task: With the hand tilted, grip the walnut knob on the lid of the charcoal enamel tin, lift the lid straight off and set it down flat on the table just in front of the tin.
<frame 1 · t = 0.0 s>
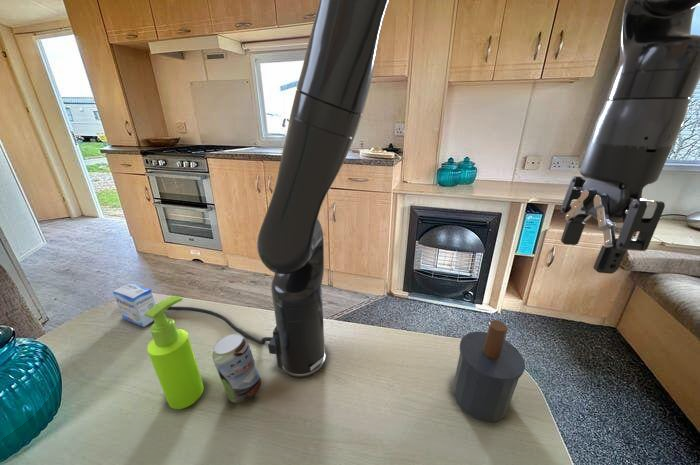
hand: (584, 256, 40), 29 cm above the table, tool pointing down, fingers open, 8 cm apart
medicine box: (142, 318, 71), on the table
beverage can: (242, 391, 53), on the table
tin: (478, 397, 51), on the table
lid: (490, 355, 47), point 10 cm above the table, touching tin
soap dispenser: (188, 392, 53), on the table
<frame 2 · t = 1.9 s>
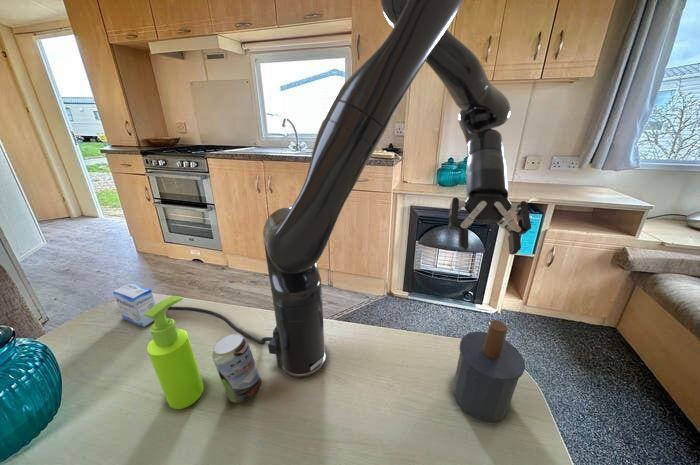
hand: (489, 251, 52), 25 cm above the table, tool tilted 45°, fingers open, 8 cm apart
nothing on the table moved.
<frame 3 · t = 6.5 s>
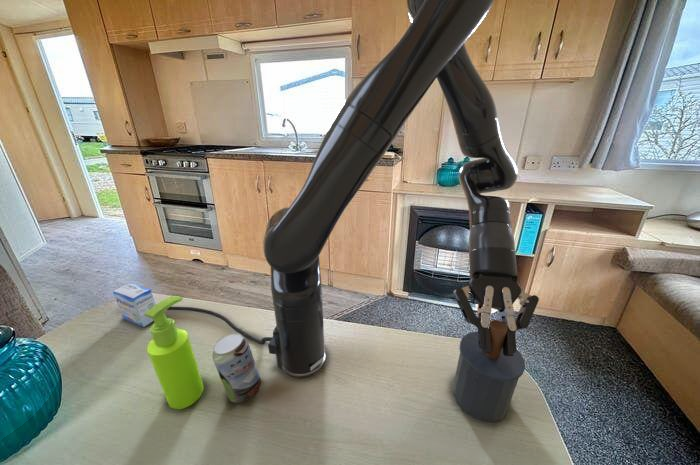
hand: (497, 354, 44), 13 cm above the table, tool tilted 45°, fingers closed on lid, 2 cm apart
lid: (490, 355, 47), point 11 cm above the table, touching gripper, tin
everything else where it was.
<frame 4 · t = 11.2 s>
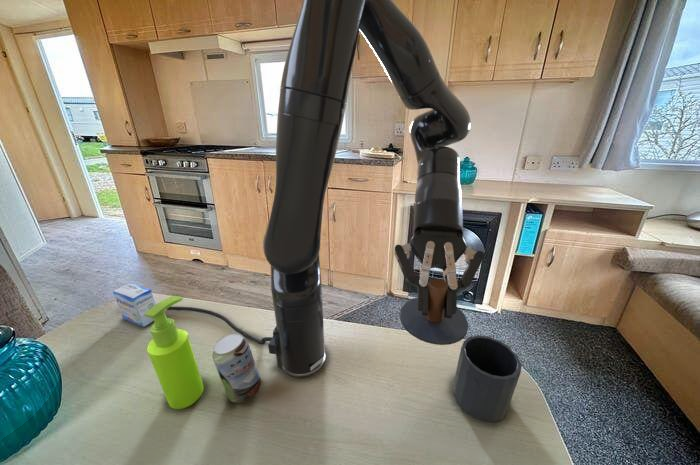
hand: (436, 315, 39), 22 cm above the table, tool tilted 45°, fingers closed on lid, 2 cm apart
lid: (432, 319, 42), point 20 cm above the table, touching gripper
everything else where it was.
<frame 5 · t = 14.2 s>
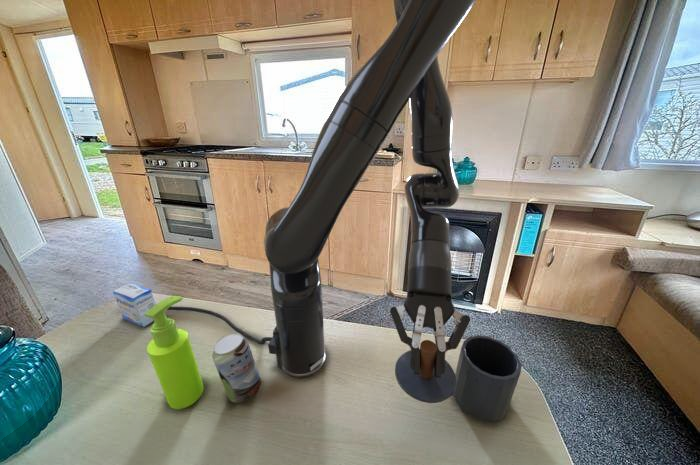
hand: (427, 374, 44), 10 cm above the table, tool tilted 45°, fingers closed on lid, 2 cm apart
lid: (424, 374, 47), point 8 cm above the table, touching gripper
everything else where it was.
when the fingers open (3 cm above the table, at t = 16.4 s): lid stays where it is, point 1 cm above the table.
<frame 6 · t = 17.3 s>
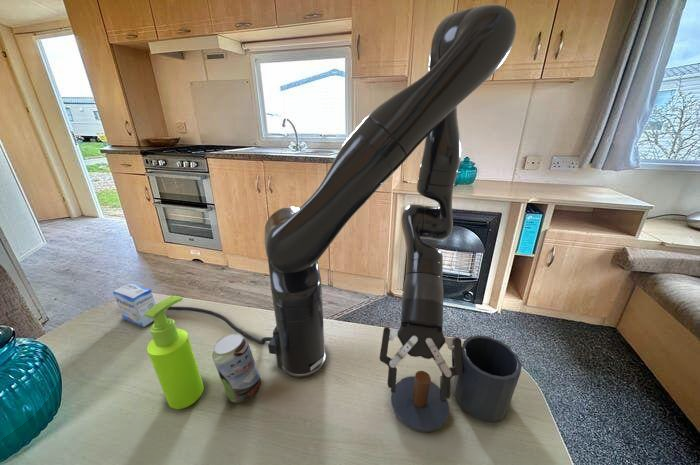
hand: (417, 396, 47), 4 cm above the table, tool tilted 45°, fingers open, 8 cm apart
lid: (419, 402, 50), point 1 cm above the table
everything else where it was.
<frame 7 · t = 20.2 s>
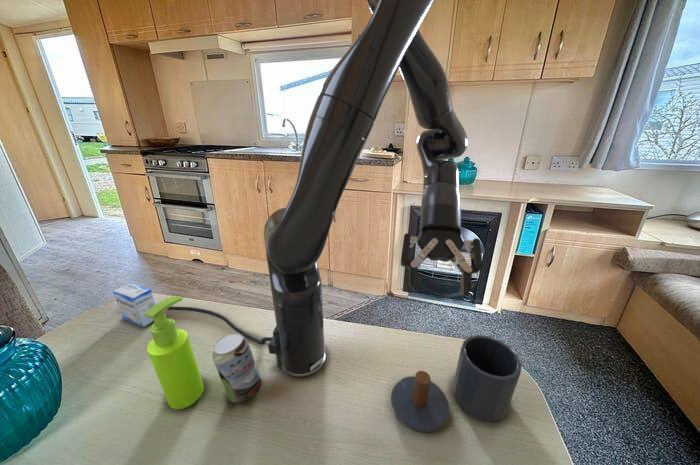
hand: (439, 292, 49), 19 cm above the table, tool tilted 45°, fingers open, 8 cm apart
nothing on the table moved.
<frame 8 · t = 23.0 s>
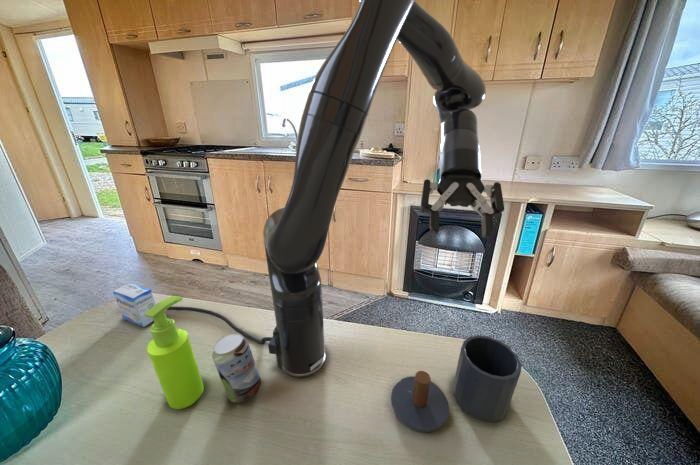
hand: (460, 234, 49), 29 cm above the table, tool tilted 45°, fingers open, 8 cm apart
nothing on the table moved.
at the end: lid inside the target area on the table beside the tin (0.1 cm from its centre), point 0.6 cm above the table; lid tilted 0°; medicine box moved 0.2 cm from its start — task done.
